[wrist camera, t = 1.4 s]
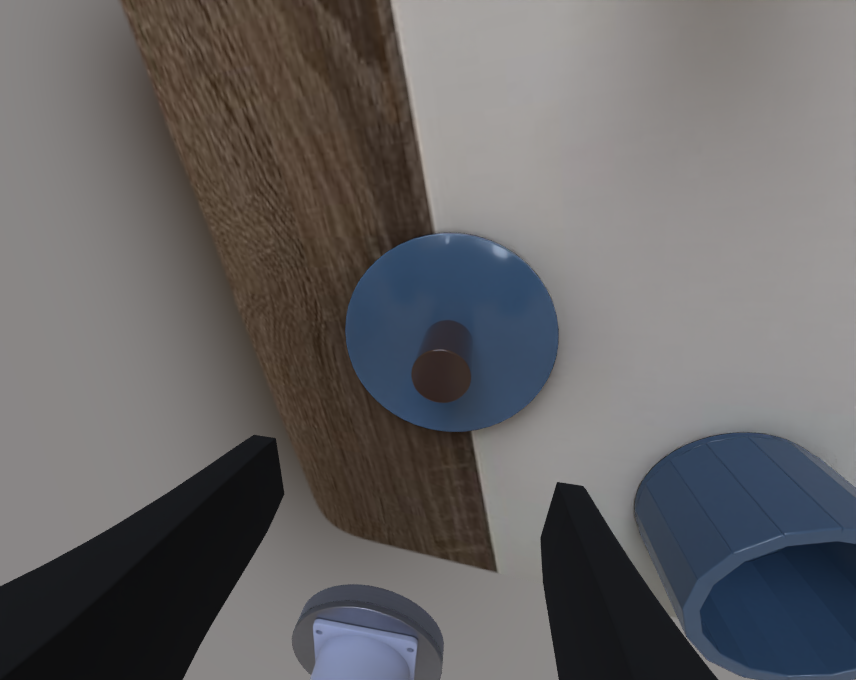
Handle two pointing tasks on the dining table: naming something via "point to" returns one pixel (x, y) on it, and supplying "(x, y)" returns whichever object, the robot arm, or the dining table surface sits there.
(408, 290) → the lid
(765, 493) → the bowl
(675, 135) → the dining table surface
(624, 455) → the dining table surface
